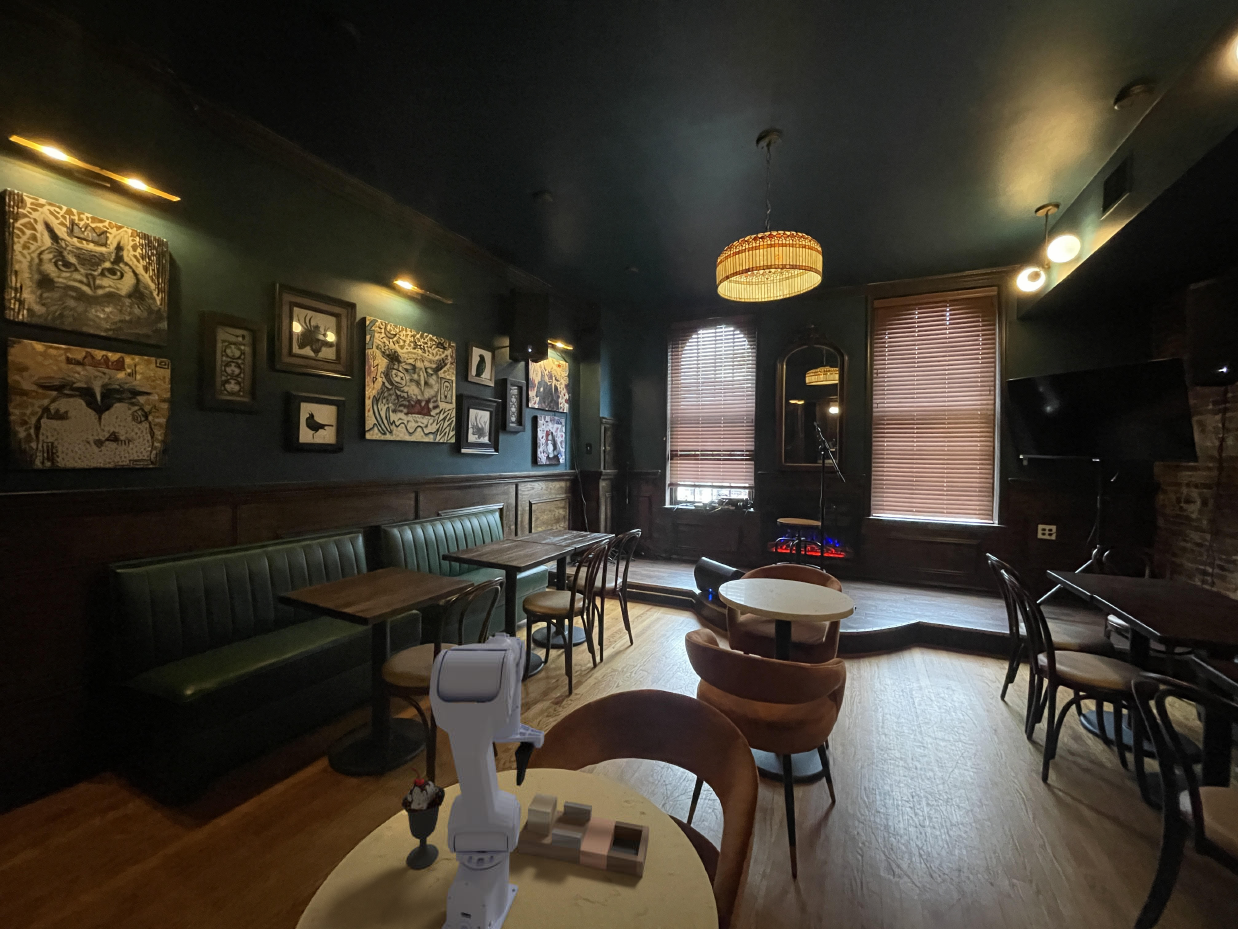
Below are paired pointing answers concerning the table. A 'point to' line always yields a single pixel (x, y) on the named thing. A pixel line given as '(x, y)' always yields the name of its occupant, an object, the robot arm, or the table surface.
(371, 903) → the table surface
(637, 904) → the table surface
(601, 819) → the wooden stepped tray
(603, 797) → the table surface
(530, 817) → the block
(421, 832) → the sundae
